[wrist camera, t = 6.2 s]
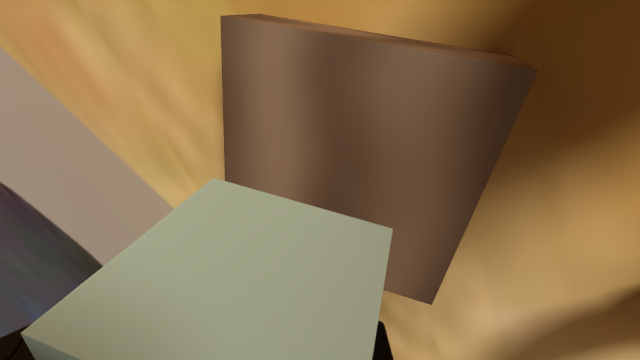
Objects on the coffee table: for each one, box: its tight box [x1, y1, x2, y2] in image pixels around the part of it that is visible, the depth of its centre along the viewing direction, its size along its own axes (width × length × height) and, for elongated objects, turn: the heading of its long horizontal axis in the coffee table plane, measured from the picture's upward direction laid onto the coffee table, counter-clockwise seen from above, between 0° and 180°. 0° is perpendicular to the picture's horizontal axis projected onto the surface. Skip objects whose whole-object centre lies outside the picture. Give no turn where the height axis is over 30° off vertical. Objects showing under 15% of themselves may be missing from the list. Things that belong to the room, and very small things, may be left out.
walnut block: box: [221, 14, 538, 305], centre depth 17 cm, size 12×12×4 cm
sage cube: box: [21, 178, 393, 360], centre depth 8 cm, size 5×5×5 cm
